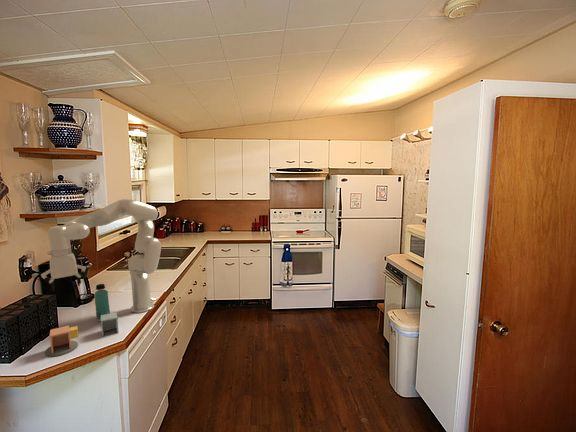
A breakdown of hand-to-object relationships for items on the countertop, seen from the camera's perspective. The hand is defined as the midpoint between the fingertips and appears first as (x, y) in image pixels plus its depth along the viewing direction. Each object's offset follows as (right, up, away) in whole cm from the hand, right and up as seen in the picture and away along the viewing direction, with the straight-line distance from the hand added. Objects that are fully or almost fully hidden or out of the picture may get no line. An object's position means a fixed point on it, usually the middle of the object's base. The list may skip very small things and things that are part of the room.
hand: (66, 287), depth 149 cm
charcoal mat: (+3, -26, -8) cm, 27 cm away
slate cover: (+16, -24, +8) cm, 30 cm away
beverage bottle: (+6, -22, +20) cm, 31 cm away
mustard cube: (0, -24, +4) cm, 25 cm away
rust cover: (+3, -25, -8) cm, 26 cm away
